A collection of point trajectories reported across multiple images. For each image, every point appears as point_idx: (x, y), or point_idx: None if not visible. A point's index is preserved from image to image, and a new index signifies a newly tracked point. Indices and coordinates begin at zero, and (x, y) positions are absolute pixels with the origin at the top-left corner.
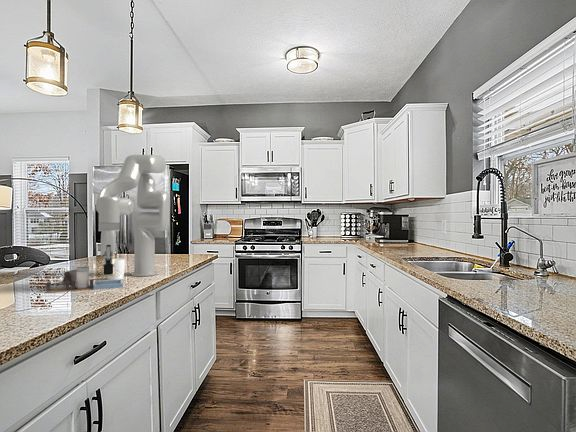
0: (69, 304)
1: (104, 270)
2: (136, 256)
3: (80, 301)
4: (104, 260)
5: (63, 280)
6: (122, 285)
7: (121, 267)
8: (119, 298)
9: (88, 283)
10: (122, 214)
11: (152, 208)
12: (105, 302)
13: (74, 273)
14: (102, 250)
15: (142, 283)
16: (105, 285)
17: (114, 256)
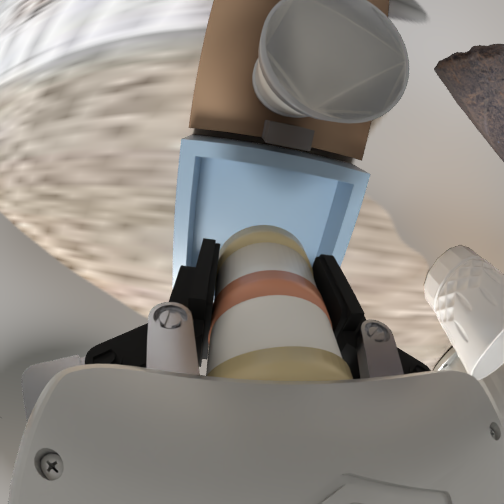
0: (22, 67)
1: (198, 261)
2: (499, 388)
3: (43, 94)
4: (233, 343)
5: (474, 46)
6: None
7: (453, 343)
8: (43, 239)
9: (285, 113)
10: None
11: None
12: (6, 191)
13: (495, 91)
14: (24, 455)
15: None
16: (175, 211)
17: None
